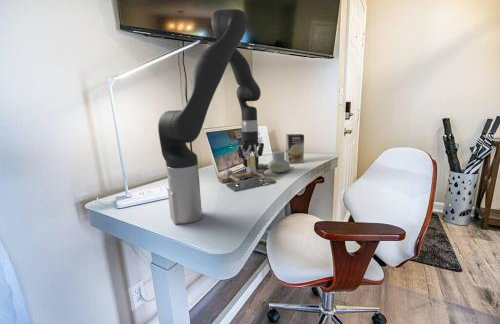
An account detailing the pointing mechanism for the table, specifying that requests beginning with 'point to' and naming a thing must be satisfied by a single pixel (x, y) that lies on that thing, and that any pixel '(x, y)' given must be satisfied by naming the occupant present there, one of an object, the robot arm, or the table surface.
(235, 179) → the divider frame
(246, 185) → the bolt plate
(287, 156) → the coffee box
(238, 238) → the table surface
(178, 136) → the robot arm
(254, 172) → the sliding leg
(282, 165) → the air freshener
